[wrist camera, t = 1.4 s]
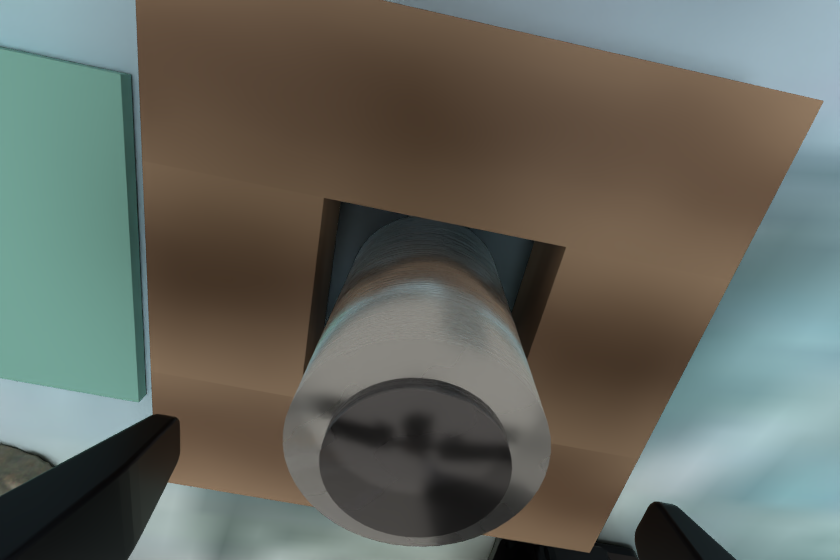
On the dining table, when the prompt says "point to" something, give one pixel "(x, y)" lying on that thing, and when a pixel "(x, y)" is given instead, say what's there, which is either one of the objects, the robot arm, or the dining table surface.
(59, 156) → the teal mat
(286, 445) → the steel cylinder
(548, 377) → the socket block
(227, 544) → the dining table surface
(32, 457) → the beige elongated piece
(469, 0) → the dining table surface
